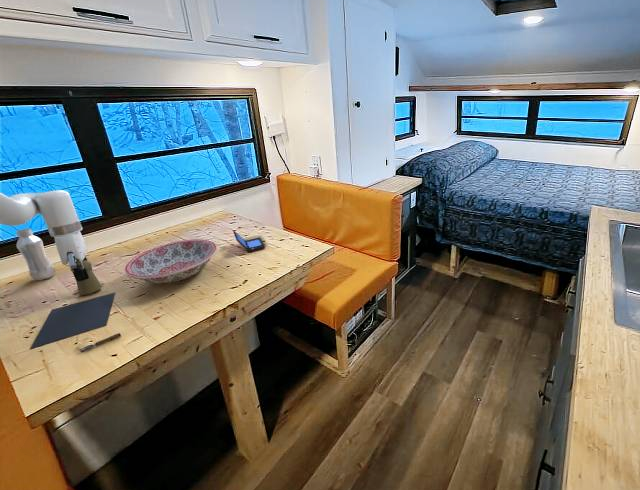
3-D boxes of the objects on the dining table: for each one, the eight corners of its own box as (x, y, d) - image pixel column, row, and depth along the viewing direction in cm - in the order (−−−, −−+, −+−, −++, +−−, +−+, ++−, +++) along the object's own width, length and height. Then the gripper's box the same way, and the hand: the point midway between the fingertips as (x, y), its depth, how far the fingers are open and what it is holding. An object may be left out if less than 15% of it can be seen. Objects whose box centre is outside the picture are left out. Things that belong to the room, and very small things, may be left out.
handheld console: (265, 249, 136) (263, 234, 133) (239, 255, 131) (236, 240, 128) (260, 239, 146) (257, 224, 144) (235, 244, 141) (232, 230, 138)
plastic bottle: (46, 273, 120) (24, 226, 114) (62, 273, 120) (41, 226, 113) (27, 282, 114) (3, 234, 107) (44, 282, 114) (21, 234, 107)
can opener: (121, 335, 87) (120, 331, 87) (120, 339, 85) (119, 336, 85) (78, 350, 82) (77, 346, 82) (77, 355, 80) (75, 352, 80)
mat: (30, 349, 83) (29, 348, 83) (51, 310, 99) (51, 309, 99) (106, 325, 91) (106, 324, 91) (115, 292, 107) (115, 292, 107)
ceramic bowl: (183, 252, 135) (179, 235, 132) (236, 261, 126) (233, 243, 124) (111, 289, 109) (103, 270, 106) (171, 303, 100) (165, 283, 98)
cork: (76, 296, 104) (64, 268, 100) (80, 288, 109) (69, 261, 105) (100, 290, 107) (89, 263, 103) (103, 282, 112) (92, 256, 108)
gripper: (56, 222, 104) (75, 268, 110) (41, 240, 91) (63, 291, 97) (86, 217, 108) (102, 262, 114) (75, 234, 95) (94, 283, 101)
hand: (84, 275), depth 106 cm, fingers closed on cork, 5 cm apart
